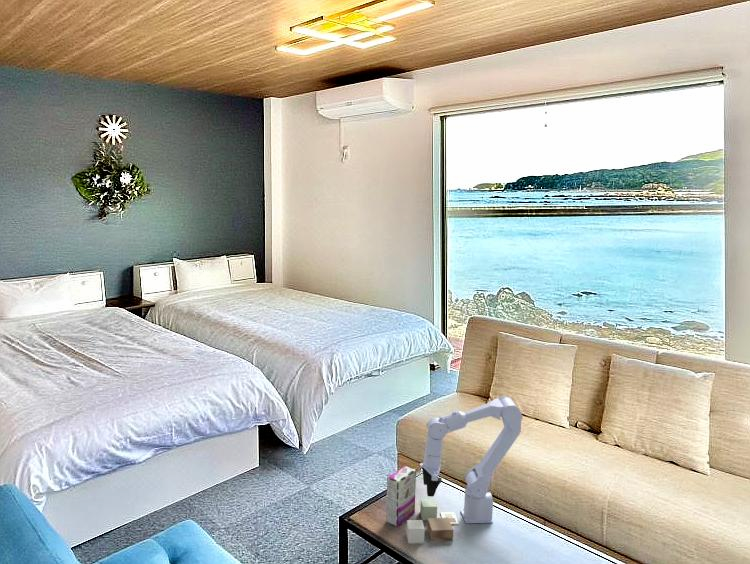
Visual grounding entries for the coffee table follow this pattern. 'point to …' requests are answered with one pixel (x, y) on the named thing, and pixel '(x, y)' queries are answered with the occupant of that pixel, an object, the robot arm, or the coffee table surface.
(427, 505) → the sage cube
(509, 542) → the coffee table surface
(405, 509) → the candy bar box
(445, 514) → the card
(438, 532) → the walnut block
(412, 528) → the pale grey cube
